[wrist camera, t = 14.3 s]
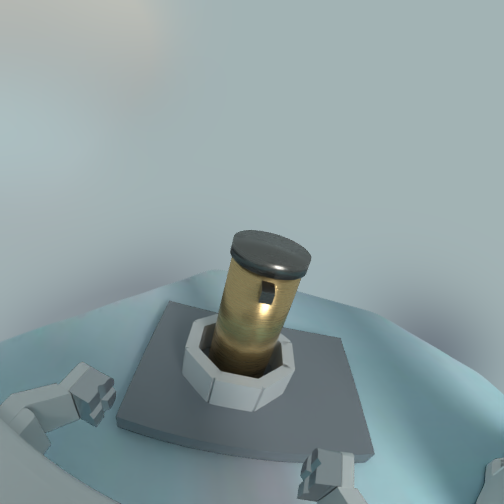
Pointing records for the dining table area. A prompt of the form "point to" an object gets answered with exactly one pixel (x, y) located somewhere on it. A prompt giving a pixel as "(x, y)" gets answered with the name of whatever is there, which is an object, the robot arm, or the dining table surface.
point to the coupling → (256, 300)
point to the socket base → (245, 395)
